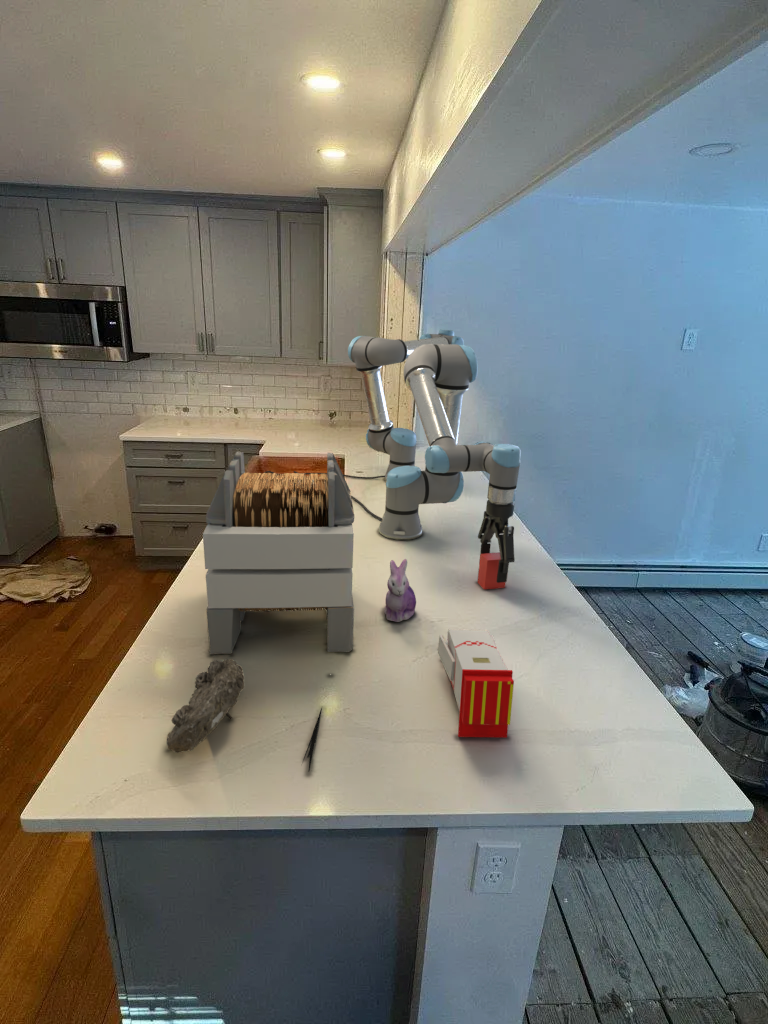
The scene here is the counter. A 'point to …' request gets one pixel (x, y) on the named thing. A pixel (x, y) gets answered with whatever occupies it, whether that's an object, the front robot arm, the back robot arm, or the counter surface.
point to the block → (489, 571)
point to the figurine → (399, 594)
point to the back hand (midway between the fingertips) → (441, 406)
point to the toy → (478, 682)
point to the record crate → (279, 550)
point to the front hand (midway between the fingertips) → (492, 572)
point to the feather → (313, 740)
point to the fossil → (206, 705)
